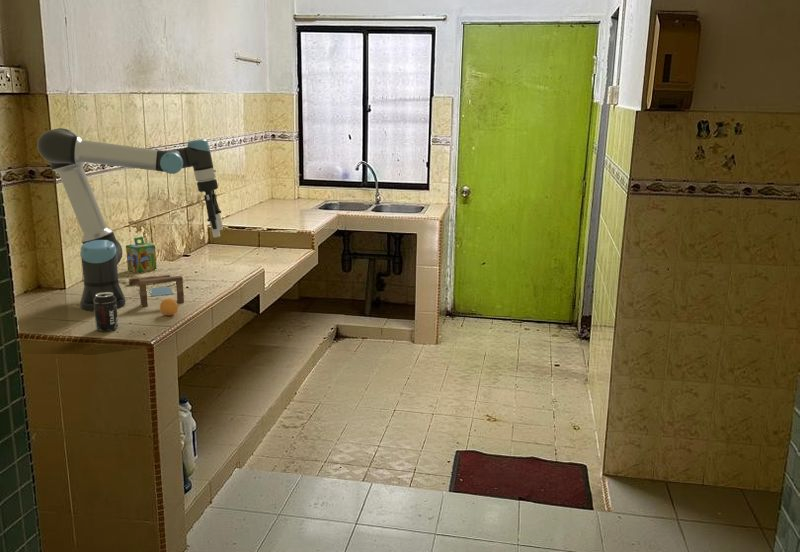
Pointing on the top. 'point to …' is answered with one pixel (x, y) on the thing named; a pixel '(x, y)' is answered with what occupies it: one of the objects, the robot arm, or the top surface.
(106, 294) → the beverage can
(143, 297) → the bridge
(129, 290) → the top surface
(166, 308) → the ball
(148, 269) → the chalk box
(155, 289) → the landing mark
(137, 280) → the wall
